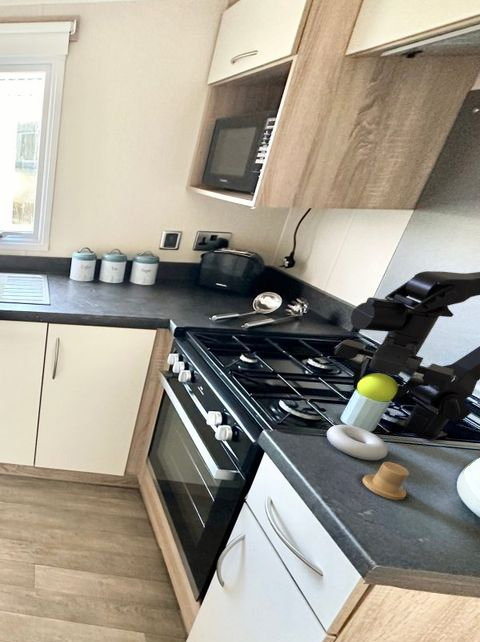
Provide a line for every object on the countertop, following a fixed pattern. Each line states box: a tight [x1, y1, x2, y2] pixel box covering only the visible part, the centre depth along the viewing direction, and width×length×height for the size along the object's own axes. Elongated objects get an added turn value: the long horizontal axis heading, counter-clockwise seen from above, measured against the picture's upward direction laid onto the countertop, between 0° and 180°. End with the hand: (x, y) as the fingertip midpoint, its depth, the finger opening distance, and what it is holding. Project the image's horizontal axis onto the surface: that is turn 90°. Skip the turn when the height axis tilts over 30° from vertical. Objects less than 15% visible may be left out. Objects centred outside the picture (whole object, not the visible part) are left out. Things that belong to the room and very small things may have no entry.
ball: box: [356, 372, 399, 402], centre depth 93 cm, size 7×7×7 cm
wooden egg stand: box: [362, 461, 410, 501], centre depth 77 cm, size 6×6×5 cm
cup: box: [340, 388, 392, 432], centre depth 96 cm, size 6×6×8 cm
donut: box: [326, 424, 389, 461], centre depth 88 cm, size 10×4×10 cm
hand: (373, 394), depth 94 cm, fingers closed on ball, 6 cm apart
